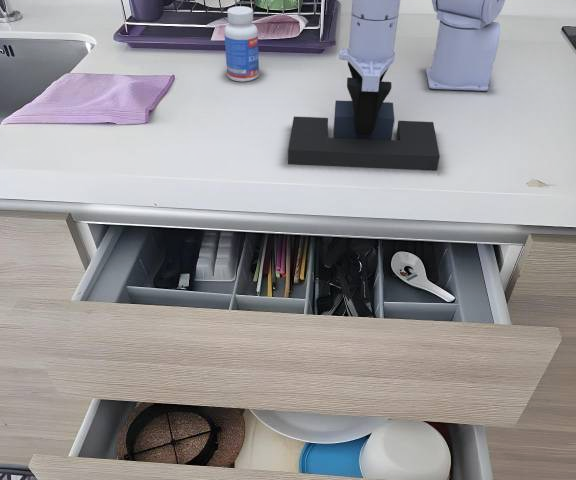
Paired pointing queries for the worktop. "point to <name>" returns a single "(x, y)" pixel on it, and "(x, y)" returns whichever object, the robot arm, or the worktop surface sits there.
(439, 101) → the worktop surface
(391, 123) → the dark blue block
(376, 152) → the black u-shaped block
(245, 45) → the pill bottle
